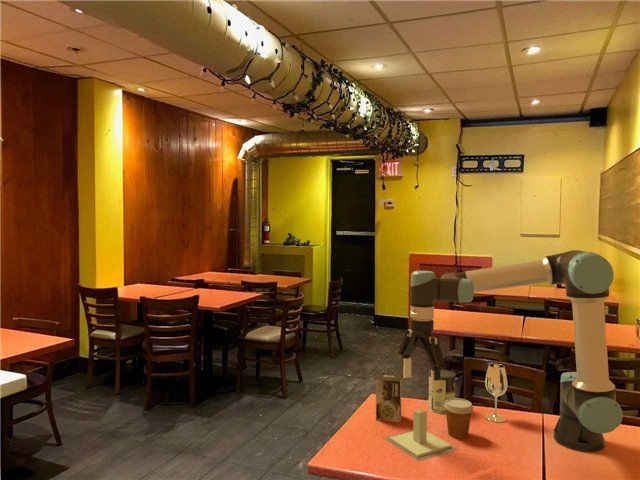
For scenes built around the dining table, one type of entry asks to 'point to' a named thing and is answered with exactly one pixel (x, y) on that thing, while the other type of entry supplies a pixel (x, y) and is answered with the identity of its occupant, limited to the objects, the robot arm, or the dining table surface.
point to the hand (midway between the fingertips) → (420, 383)
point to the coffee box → (388, 398)
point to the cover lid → (420, 437)
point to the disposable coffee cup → (458, 417)
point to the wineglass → (496, 388)
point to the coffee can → (442, 391)
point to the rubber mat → (424, 455)
